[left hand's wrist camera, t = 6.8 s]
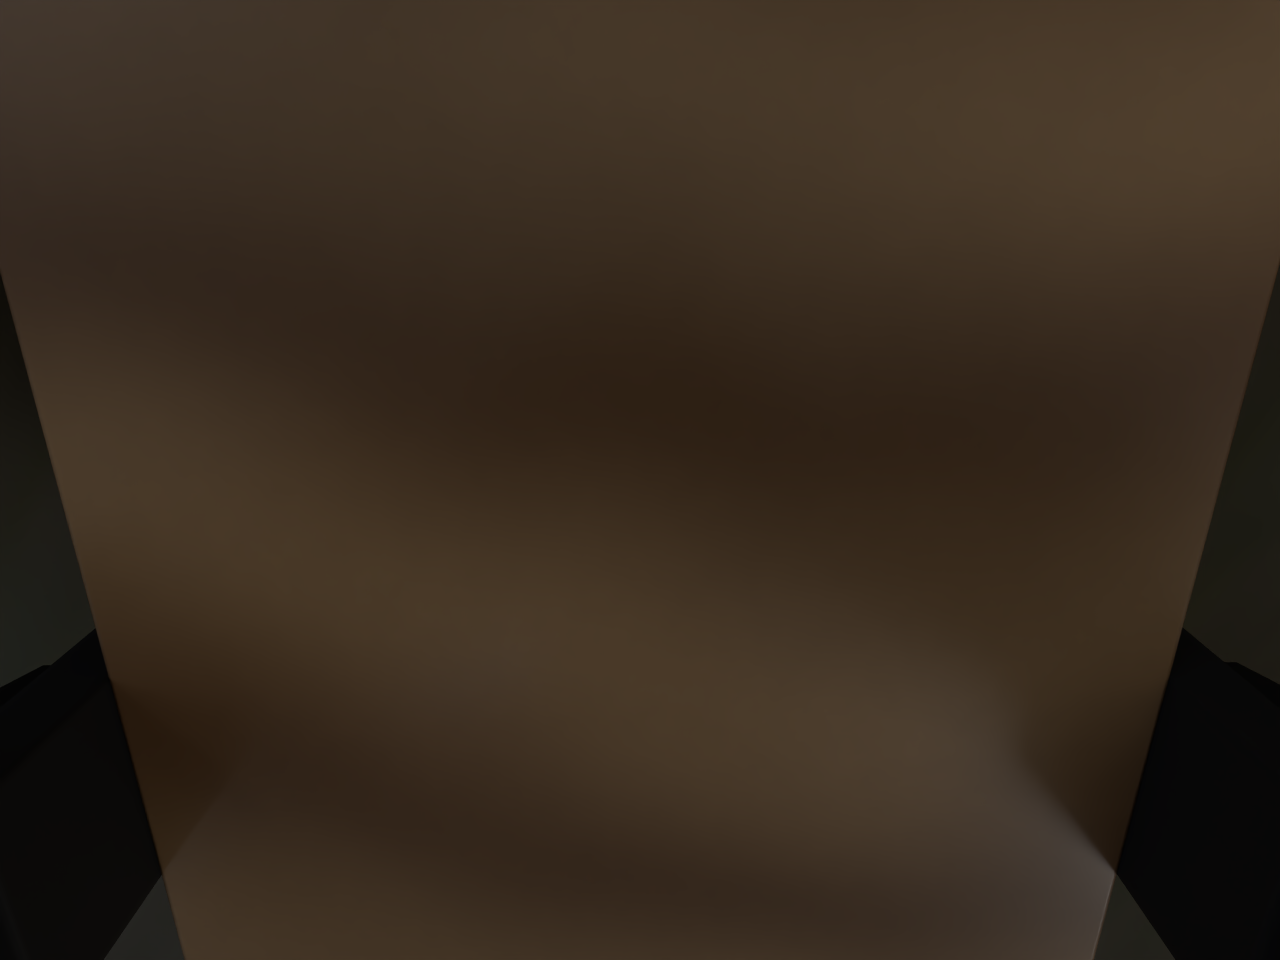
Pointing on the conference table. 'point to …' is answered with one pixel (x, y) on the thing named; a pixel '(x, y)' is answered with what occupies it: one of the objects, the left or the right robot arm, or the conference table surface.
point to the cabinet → (639, 450)
